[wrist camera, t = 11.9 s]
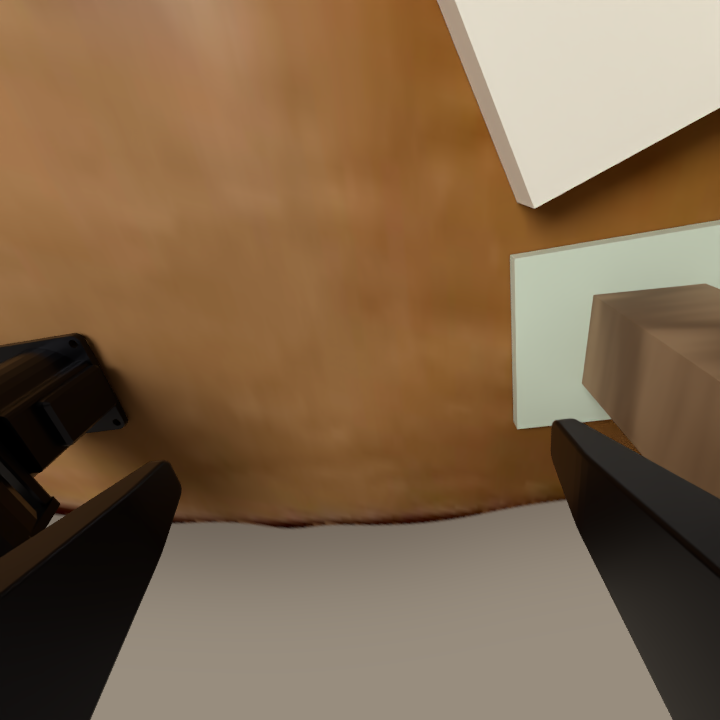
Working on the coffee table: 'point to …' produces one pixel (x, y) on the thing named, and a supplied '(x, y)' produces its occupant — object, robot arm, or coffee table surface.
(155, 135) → the coffee table surface
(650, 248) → the pad
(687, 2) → the ledge
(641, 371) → the walnut block
